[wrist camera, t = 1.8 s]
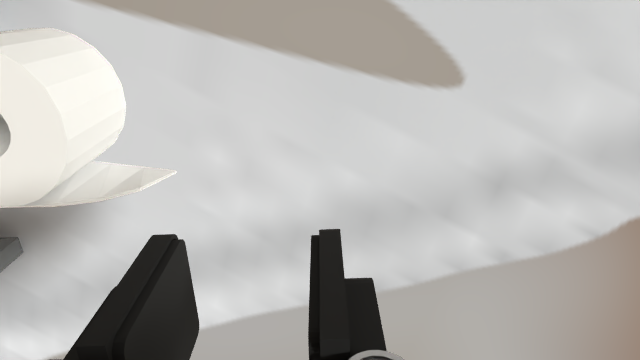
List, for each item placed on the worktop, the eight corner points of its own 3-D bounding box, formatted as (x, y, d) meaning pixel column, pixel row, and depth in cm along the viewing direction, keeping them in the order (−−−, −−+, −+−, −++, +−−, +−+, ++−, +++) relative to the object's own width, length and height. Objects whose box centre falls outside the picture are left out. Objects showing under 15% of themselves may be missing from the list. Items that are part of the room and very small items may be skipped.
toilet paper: (176, 173, 29) (136, 224, 23) (0, 152, 28) (-93, 198, 22) (176, 44, 26) (129, 60, 19) (-22, 18, 25) (-138, 26, 19)
